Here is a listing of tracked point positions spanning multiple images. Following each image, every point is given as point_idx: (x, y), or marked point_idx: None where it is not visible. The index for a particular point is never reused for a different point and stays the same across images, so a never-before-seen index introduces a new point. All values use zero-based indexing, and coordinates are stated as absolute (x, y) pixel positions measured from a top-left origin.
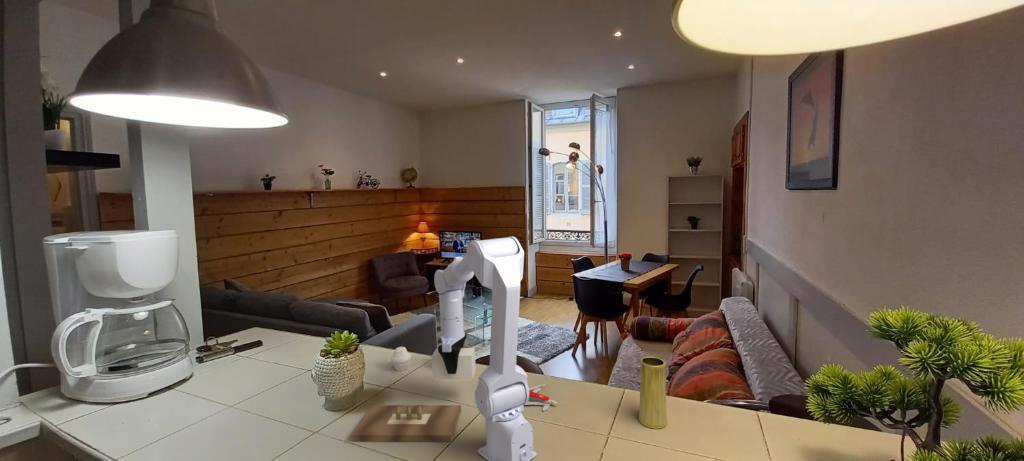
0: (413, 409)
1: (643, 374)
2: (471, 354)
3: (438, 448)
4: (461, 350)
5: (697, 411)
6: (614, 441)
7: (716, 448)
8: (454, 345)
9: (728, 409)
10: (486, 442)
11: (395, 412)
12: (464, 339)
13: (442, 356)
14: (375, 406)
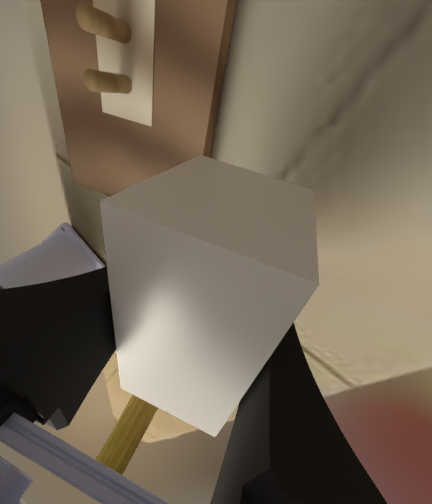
0: (187, 42)
1: (102, 462)
2: (136, 395)
3: (64, 147)
4: (193, 393)
5: (161, 424)
6: (114, 358)
7: (112, 396)
8: (40, 422)
9: (163, 435)
10: (44, 245)
11: None
12: (213, 499)
13: (39, 288)
14: None
